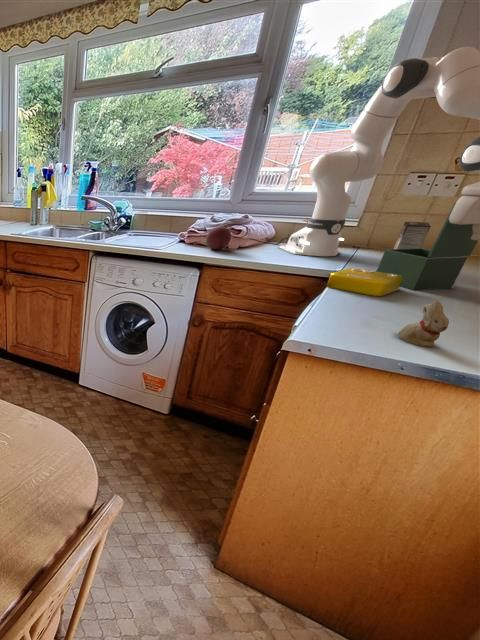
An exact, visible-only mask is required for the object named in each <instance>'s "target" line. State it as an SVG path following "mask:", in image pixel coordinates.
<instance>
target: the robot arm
mask: <svg viewBox="0 0 480 640" xmlns="http://www.w3.org/2000/svg"><path fill="white" fill-rule="evenodd" d="M417 99H436V101H437V103H438V106H439V107H440V108H441V110H442V111H444V112H445V113H446V114H447V115H449V116H454V117H462V118H467V119H472V120H473V119H474V120H477V121H480V51H479V49H477V48H476V47H473V46H462V47H459V48H456V49H453V50H451V51H449V52H448V53H446V54H445V55H444V56H433V57H422V58H415V57H414V58H413V57H412V58H409V59H404V60H401V61H399V62H397V63H395V64H394V65H393V66H392V67H391V68H390V69H389V70H388V71H387V73H386V74H385V76H384V77H383V80H382V82H381V85H380V86H379V87H378V88H377V90H376V91H375V92H374V94H373V95H372V96H371V98H370V99H369V101H368V102H367V103H366V105H365V107H364V108H363V109H362V111H361V113H360V114H359V116H358V117H357V119H356V120H355V123H354V124H353V126H352V127H351V129H350V137H351V138H352V139H353V141H354V143H353V145H352V147H351V149H350V150H345V151H344V150H343V151H331V152H327V153H323V154H321V155H318V156H317V157H316V158H315V159H314V160H313V161H312V163H311V165H310V167H309V171H308V173H309V178H310V179H311V180H312V181H313V183H314V184H315V186H316V196H317V197H316V202H315V205H314V209H313V212H312V216H311V217H310V218H306V219H305V220H306V221H305V223H306V224H305V226H303V228H301V229H299V230H298V231H296V232H294V233H288V234H287V236H286V237H284V238H282V239H280V241H279V242H275V243H273V242H270V241H267V240H264V241H265V242H264V243H265V244H269V245H274V246H277V245H280V244H281V243H282V242H283V241H284V240H286V242H287V243H286V244H282V245H280V246H279V249H281V250H283V251H286V252H288V253H291V254H292V255H293V254H294V255H299V256H300V255H302V256H311V257H335V256H337V255H338V254H339V252H340V250H338V249H339V245H340V242H341V241H342V242H343V241H345V238H343V237H342V229H344V227H345V224H346V218H347V217H346V216H347V214H348V212H349V209H350V205H351V204H352V197H351V195H350V194H349V193H348V192H346V183H353V182H361V181H362V182H363V181H366V180H369V179H372V178H374V177H376V176H377V175H378V174H379V173H380V172H381V170H382V169H383V166H384V162H385V159H384V155H383V154H382V148H383V144H384V141H385V139H386V137H387V136H388V134H389V133H390V131H391V129H392V127H393V126H394V125H395V123H396V122H397V120H398V119H399V117H400V116H401V114H402V113H403V111H404V109H405V108H406V107H407V105H408V104H409V103H410V102H411V101H412V100H417ZM458 164H459V167H460V168H461V170H462V171H464V172H467V173H471V174H472V173H475V174H477V173H479V174H480V136H478V137H476V138H475V139H472V141H470V142H469V143H468V144H466V146H465V147H464V148H463V150H462V152H461V153H460V156H459V160H458ZM461 195H462V196H460V197H459V198H458V199H457V201H456V202H455V203H456V204H455V206H454V208H453V210H452V212H451V215H450V217H449V221H450V223H453V224H460V225H463V224H473V226H472V229H473V235H472V237H471V240H478V241H480V181H477V182H475V183H471V184H468V185H466V186H464V187H463V188H462V189H461Z"/></svg>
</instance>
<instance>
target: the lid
mask: <svg viewBox="0 0 480 640" xmlns="http://www.w3.org/2000/svg"><path fill="white" fill-rule="evenodd" d="M456 203H457V202H454V203H453V205H452V207H451V209H450V211H449V214H448V215H447V217H446V219H445V221H444V223H443V225H442V227H441V229H440V231H439V233H438V235H437V237H436V239H435V241H434V243H433V245H432V247H431V248H430V250H431V251H430V253H429V255H428V257H454V256H464V257H470V256H471V254H472V253H473V251H474V249H475V248H476V246H477V243H478V242H479V240H471V237H472V235H473V229H472V226H473V224H463V225H460V224H453V223H450V221H449V217H450V215H451V212H452V210H453V208H454V206H455V204H456Z"/></svg>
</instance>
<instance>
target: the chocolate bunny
mask: <svg viewBox="0 0 480 640" xmlns="http://www.w3.org/2000/svg"><path fill="white" fill-rule="evenodd" d="M422 313H423V315H422V316H423V317H422V318H421V320H420V321H416V322H412V323H407V324H406V325H405V326H404V327H403V328H402V329H400V331H399V332H398V333H397V334H398V335H397V336H398V338H399V339H401V340H402V341H404V342H407V343H410V344H413V345H415V346H421V347H427V348H429V347H430V348H432V347H433V346H434V345H435V341H438V339H439V338H440V336H441V333H443V332H445V331H446V330H447V329H448V327H449V323H450V319H449V318H448V317H447V315H445V313H444V305H442V303H441V301H439V300H436V301H434V302H432V303H429V304H428V303H427V304H424V306H423V308H422Z"/></svg>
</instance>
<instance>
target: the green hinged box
mask: <svg viewBox="0 0 480 640" xmlns="http://www.w3.org/2000/svg"><path fill="white" fill-rule="evenodd" d="M430 251H431V249H428V248H423V247H421V248H412V249H394V248H391V249H385V250H384V252H383V254H382V257H381V260H380V262H379V263H378V266H377V268H376V271H377V272H383V273H390V274H396V275H402V276H403V280H402V282H401V284H400V287H402V288H405V289H408V290H412V291H421V290H445V289H448V290H449V289H453V287H454V285H455V283H456V281H457V279H458V277H459V275H460V273H461V271H462V269H463V267H464V266H465V263H466V261H467V260H468V256H454V257H428V255H429V253H430Z"/></svg>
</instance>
